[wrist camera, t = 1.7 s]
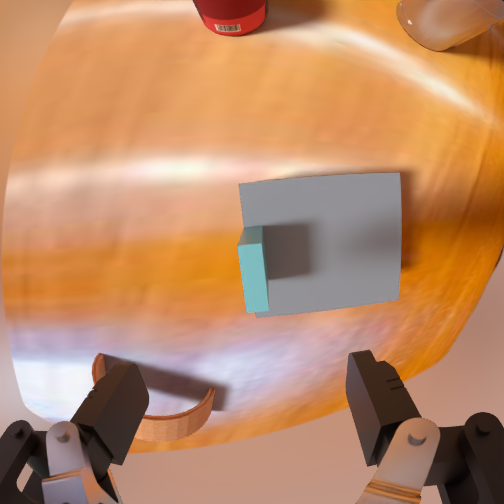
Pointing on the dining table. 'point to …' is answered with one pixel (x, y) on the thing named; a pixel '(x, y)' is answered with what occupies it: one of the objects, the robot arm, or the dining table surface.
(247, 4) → the canned food
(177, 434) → the arch
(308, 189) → the lid
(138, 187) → the dining table surface
